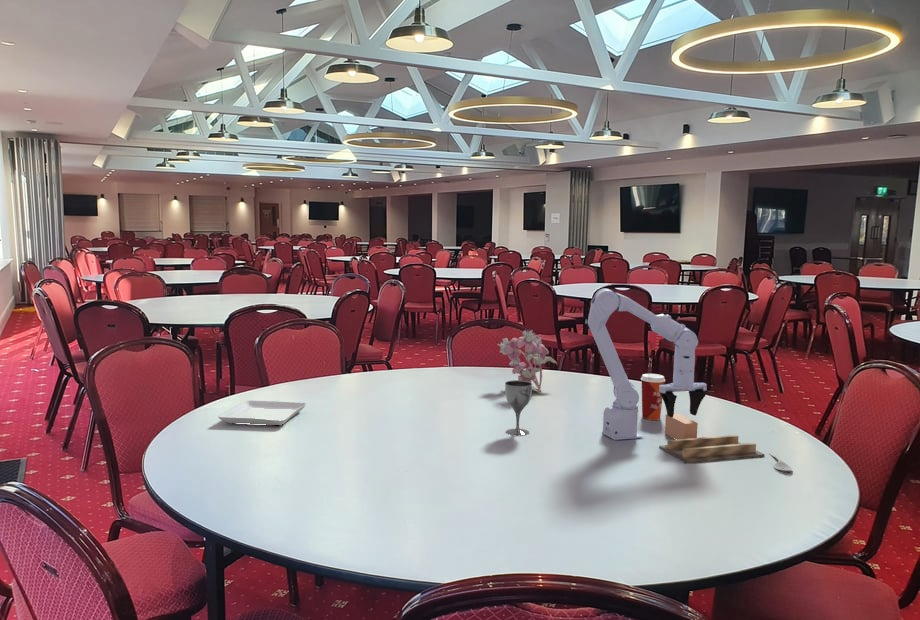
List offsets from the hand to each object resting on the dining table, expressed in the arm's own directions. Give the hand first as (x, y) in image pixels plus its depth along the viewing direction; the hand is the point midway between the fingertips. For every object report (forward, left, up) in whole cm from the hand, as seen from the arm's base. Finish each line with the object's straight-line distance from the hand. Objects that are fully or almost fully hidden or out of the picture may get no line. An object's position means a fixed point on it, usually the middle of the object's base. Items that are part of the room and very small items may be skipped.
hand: (681, 415), depth 190 cm
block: (0, 0, -7) cm, 7 cm away
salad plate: (-119, +48, -7) cm, 129 cm away
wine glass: (-45, +16, -7) cm, 48 cm away
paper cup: (+3, +21, -7) cm, 22 cm away
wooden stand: (+1, -13, -7) cm, 15 cm away
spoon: (+14, -23, -8) cm, 28 cm away
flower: (-22, +70, -7) cm, 74 cm away
